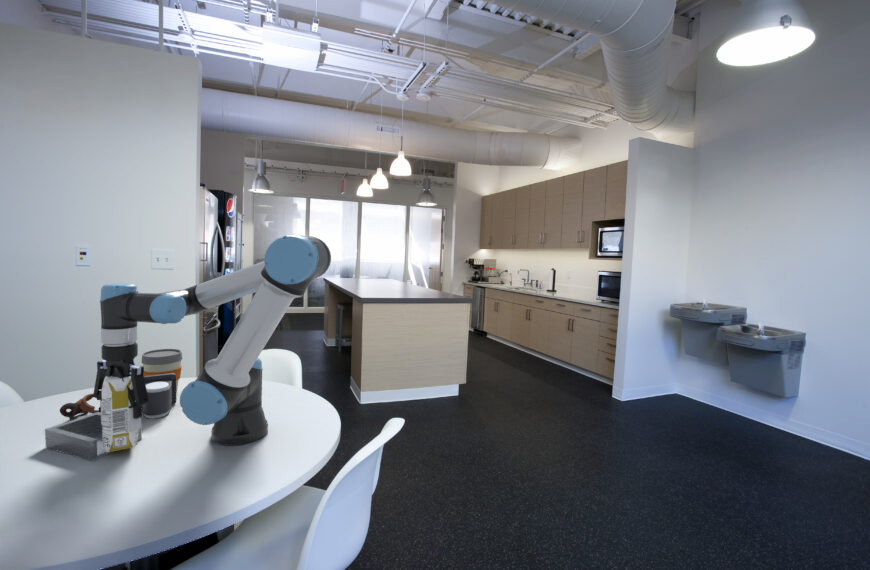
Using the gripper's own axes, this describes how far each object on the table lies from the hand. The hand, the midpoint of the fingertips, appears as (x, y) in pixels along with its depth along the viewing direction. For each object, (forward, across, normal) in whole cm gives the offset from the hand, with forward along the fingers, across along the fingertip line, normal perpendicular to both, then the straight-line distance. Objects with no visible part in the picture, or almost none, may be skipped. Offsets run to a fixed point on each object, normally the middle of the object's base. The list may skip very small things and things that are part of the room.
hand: (121, 426), depth 110 cm
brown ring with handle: (+7, +30, -10) cm, 32 cm away
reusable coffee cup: (+7, +29, -35) cm, 46 cm away
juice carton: (+5, 0, 0) cm, 5 cm away
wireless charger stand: (+7, +16, -22) cm, 28 cm away
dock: (+7, +10, 0) cm, 12 cm away
